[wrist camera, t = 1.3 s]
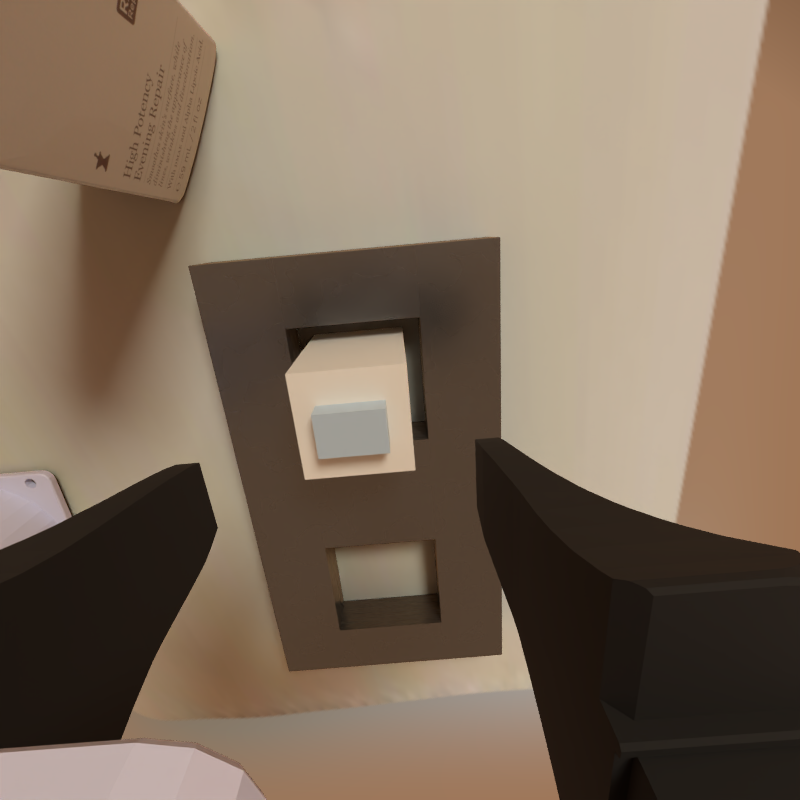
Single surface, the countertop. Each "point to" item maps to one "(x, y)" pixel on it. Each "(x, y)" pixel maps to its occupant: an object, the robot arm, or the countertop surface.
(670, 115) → the countertop surface
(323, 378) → the plug
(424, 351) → the panel
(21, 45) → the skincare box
